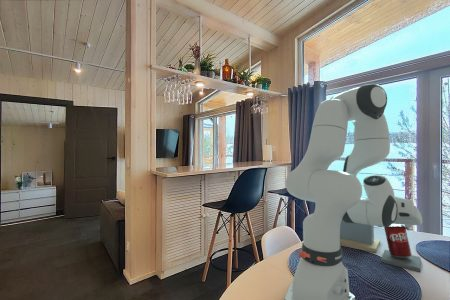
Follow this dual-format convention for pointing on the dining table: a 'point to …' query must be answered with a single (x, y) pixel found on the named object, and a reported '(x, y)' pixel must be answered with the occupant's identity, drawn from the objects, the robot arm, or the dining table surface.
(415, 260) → the pad
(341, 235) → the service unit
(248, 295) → the dining table surface
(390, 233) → the soda can
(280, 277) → the dining table surface
